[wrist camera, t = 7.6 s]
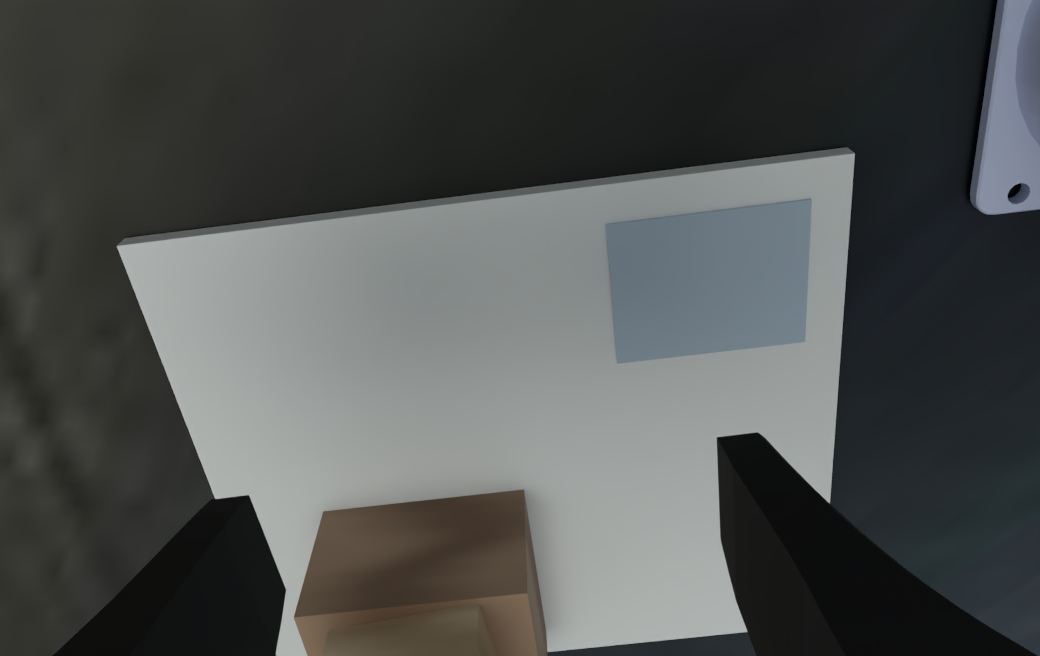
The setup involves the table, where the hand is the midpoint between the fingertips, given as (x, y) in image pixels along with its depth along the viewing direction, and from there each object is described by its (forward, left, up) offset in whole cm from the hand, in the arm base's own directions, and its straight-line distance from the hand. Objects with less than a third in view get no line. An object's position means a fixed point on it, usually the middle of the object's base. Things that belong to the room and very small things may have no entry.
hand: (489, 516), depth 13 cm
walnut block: (+3, +10, -9) cm, 14 cm away
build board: (0, +6, -10) cm, 12 cm away
